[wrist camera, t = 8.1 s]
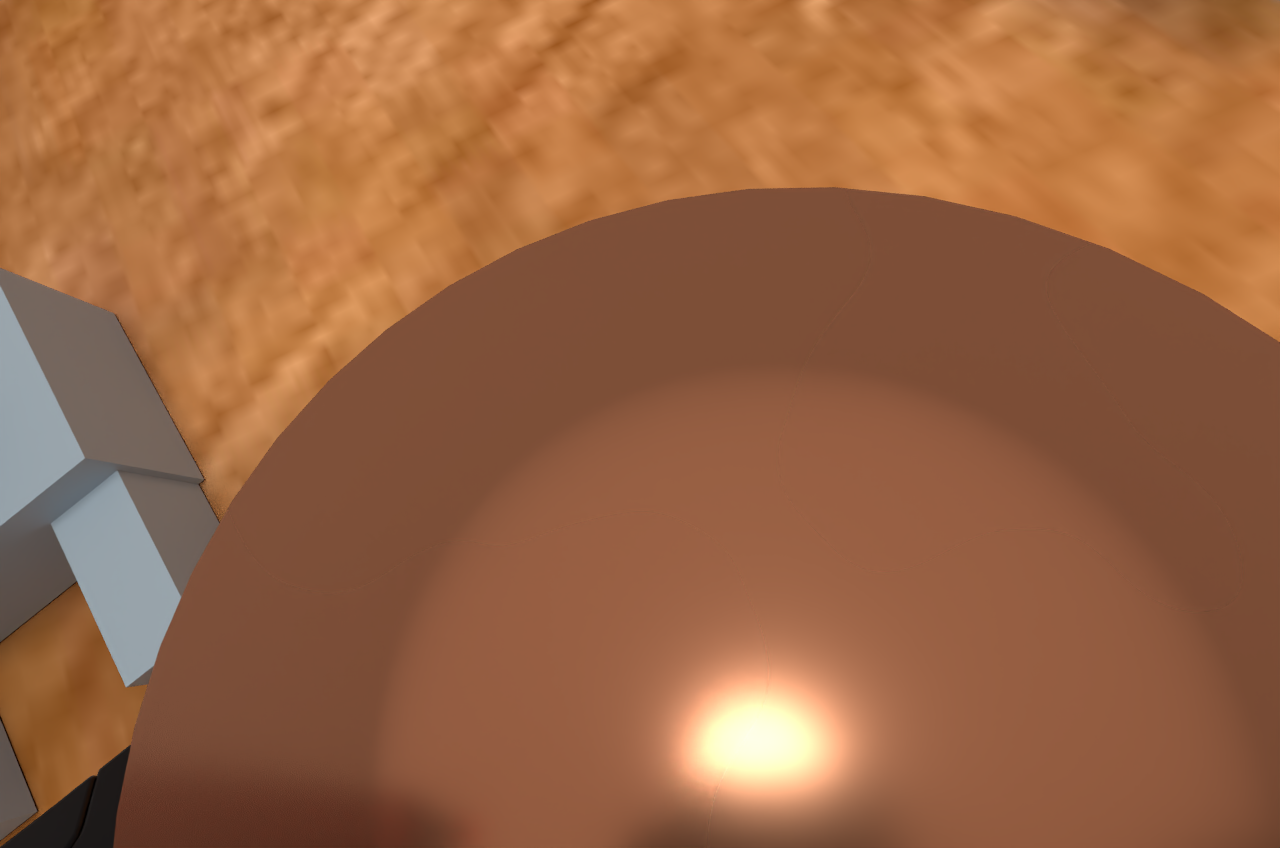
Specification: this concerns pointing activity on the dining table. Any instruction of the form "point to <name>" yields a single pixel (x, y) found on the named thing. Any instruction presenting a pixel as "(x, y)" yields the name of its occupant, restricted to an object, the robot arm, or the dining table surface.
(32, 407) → the tensioner block
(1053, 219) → the dining table surface
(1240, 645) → the pin
